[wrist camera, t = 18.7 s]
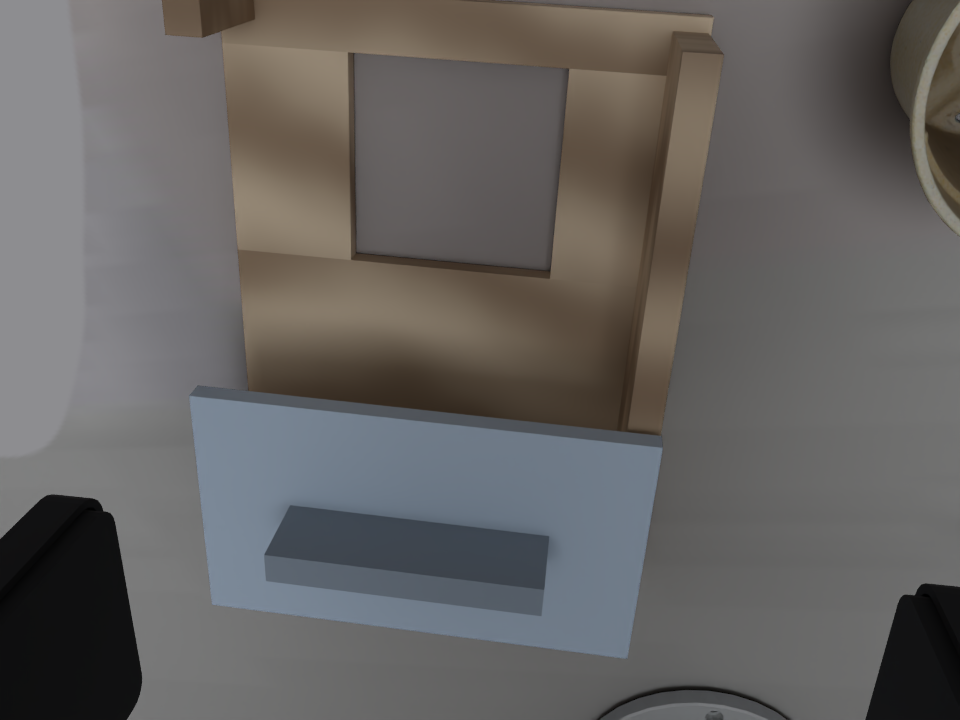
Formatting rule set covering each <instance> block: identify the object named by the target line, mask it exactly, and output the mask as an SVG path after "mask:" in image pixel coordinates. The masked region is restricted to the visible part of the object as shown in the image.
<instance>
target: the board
mask: <svg viewBox="0 0 960 720" xmlns="http://www.w3.org/2000/svg"><path fill="white" fill-rule="evenodd" d="M162 5H163V15H164V25H165V35H173V36H187V37H201V38H203V37H206V36H208V35H211V34H214V33H217V32H220V31H221V34H222V47H223V61H224V74H225V87H226V100H227V114H228V127H229V140H230V153H231V166H232V180H233V193H234V206H235V219H236V232H237V246H238V259H239V272H240V285H241V299H242V312H243V325H244V338H245V351H246V365H247V378H248V391H253V392H262V393H271V394H281V395H290V396H299V397H308V398H317V399H326V400H336V401H345V402H354V403H363V404H372V405H382V406H391V407H400V408H409V409H418V410H428V411H437V412H446V413H455V414H464V415H473V416H483V417H492V418H501V419H510V420H519V421H529V422H538V423H547V424H556V425H565V426H575V427H584V428H593V429H602V430H611V431H620V432H630V433H639V434H648V435H657V436H661V430H662V424H663V418H664V412H665V406H666V400H667V394H668V388H669V382H670V376H671V370H672V364H673V358H674V352H675V346H676V340H677V334H678V328H679V322H680V316H681V310H682V304H683V298H684V292H685V286H686V280H687V274H688V268H689V262H690V256H691V250H692V244H693V238H694V232H695V226H696V220H697V214H698V208H699V202H700V196H701V190H702V184H703V178H704V172H705V166H706V160H707V154H708V148H709V142H710V136H711V130H712V124H713V118H714V112H715V106H716V100H717V94H718V88H719V82H720V76H721V70H722V64H723V58H724V54H723V53H722V51H721V50H720V48H719V47H718V46H717V44H716V43H715V42H714V40H713V39H712V37H711V33H712V26H713V20H714V18H713V16H712V15H701V14H687V13H672V12H657V11H642V10H628V9H613V8H598V7H583V6H569V5H554V4H539V3H524V2H510V1H495V0H162ZM353 53H364V54H377V55H391V56H404V57H418V58H431V59H445V60H458V61H472V62H485V63H499V64H512V65H526V66H539V67H553V68H566V69H569V79H568V89H567V100H566V111H565V122H564V133H563V143H562V154H561V165H560V176H559V187H558V197H557V208H556V219H555V230H554V241H553V252H552V262H551V272H550V271H540V270H529V269H519V268H508V267H497V266H487V265H476V264H465V263H455V262H444V261H433V260H423V259H412V258H401V257H391V256H380V255H369V254H359V253H356V215H355V136H354V57H353Z"/></svg>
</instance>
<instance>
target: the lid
mask: <svg viewBox="0 0 960 720" xmlns="http://www.w3.org/2000/svg"><path fill="white" fill-rule="evenodd" d="M189 399H190V408H191V417H192V426H193V435H194V444H195V453H196V462H197V472H198V481H199V490H200V499H201V508H202V517H203V526H204V535H205V544H206V553H207V562H208V571H209V580H210V589H211V598H212V605H219V606H227V607H235V608H242V609H250V610H258V611H265V612H273V613H281V614H288V615H296V616H304V617H311V618H319V619H326V620H334V621H342V622H349V623H357V624H365V625H372V626H380V627H388V628H395V629H403V630H411V631H418V632H426V633H434V634H441V635H449V636H456V637H464V638H472V639H479V640H487V641H495V642H502V643H510V644H518V645H525V646H533V647H541V648H548V649H556V650H563V651H571V652H579V653H586V654H594V655H602V656H609V657H617V658H625V659H627V657H628V651H629V645H630V639H631V633H632V627H633V621H634V616H635V610H636V604H637V598H638V592H639V586H640V580H641V574H642V568H643V562H644V556H645V551H646V545H647V539H648V533H649V527H650V521H651V515H652V509H653V503H654V497H655V491H656V486H657V480H658V474H659V468H660V462H661V456H662V450H663V444H662V436H657V435H648V434H639V433H630V432H620V431H611V430H602V429H593V428H584V427H575V426H565V425H556V424H547V423H538V422H529V421H519V420H510V419H501V418H492V417H483V416H473V415H464V414H455V413H446V412H437V411H428V410H418V409H409V408H400V407H391V406H382V405H372V404H363V403H354V402H345V401H336V400H326V399H317V398H308V397H299V396H290V395H281V394H271V393H262V392H253V391H244V390H235V389H225V388H216V387H207V386H197V387H196V388H195V390H194V391H193V392H192V393H191V394H190V395H189Z"/></svg>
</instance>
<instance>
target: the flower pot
mask: <svg viewBox="0 0 960 720" xmlns="http://www.w3.org/2000/svg"><path fill="white" fill-rule="evenodd" d="M890 70H891V79H892V85H893V89H894V92H895V95H896V97H897V99H898V101H899V103H900V105H901V107H902V109H903V110H904V112H905V113H906V115H907V116H908V117H909V119H910V141H911V149H912V156H913V161H914V165H915V169H916V173H917V176H918V179H919V182H920V184H921V187H922V189H923V192H924V194H925V196H926V198H927V200H928V202H929V203H930V204H931V206H932V207H933V209H934V210H935V211H936V213H937V214H938V216H939V217H940V218H941V220H942V221H943V222H944V223H945V224H946V225H947V226H948V227H949V228H950V229H951V230H952V231H953V232H955V233H956V234H957V235H958V236H959V237H960V121H958V120H957V119H956V115H958V114H960V0H913V1H912V2H911V3H910V5H909V7H908V8H907V10H906V11H905V13H904V15H903V17H902V19H901V21H900V23H899V26H898V28H897V31H896V34H895V37H894V40H893V44H892V50H891V59H890Z"/></svg>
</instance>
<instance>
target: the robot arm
mask: <svg viewBox="0 0 960 720" xmlns="http://www.w3.org/2000/svg"><path fill="white" fill-rule="evenodd" d="M141 686H142V672H141V667H140V661H139V655H138V650H137V644H136V638H135V633H134V627H133V621H132V616H131V610H130V605H129V599H128V593H127V588H126V582H125V576H124V571H123V565H122V559H121V554H120V548H119V542H118V537H117V531H116V525H115V521H114V518H113V516H112V515H111V513H108V512H103V508H102V506H101V504H100V503H99V502H98V500H95V499H93V498H83V497H73V496H63V495H53V494H52V495H47V496H45V497H44V498H42V499H41V500H40V501H39V502H38V503H37V504H36V505H35V506H34V507H32V508H31V509H30V510H29V511H28V512H27V513H26V514H25V515H24V516H23V517H22V518H21V519H20V520H19V521H18V522H17V523H16V524H15V525H14V526H13V527H12V528H11V529H10V530H9V531H8V532H7V533H6V534H5V535H4V536H3V537H2V538H1V539H0V720H127V718H128V717H129V715H130V714H131V712H132V710H133V709H134V707H135V705H136V703H137V701H138V698H139V695H140V691H141ZM600 720H786V719H785V718H784V717H782V716H781V715H780V714H778V713H777V712H775V711H773V710H771V709H769V708H767V707H765V706H763V705H761V704H759V703H757V702H754V701H751V700H748V699H745V698H741V697H738V696H735V695H731V694H725V693H719V692H713V691H700V690H680V691H671V692H662V693H657V694H653V695H650V696H646V697H642V698H638V699H636V700H633V701H631V702H629V703H626V704H624V705H622V706H619V707H617V708H616V709H614V710H613V711H611V712H610V713H608V714H607V715H605V716H604V717H602V718H601V719H600ZM866 720H960V587H955V586H945V585H936V584H922V585H921V586H920V587H919V588H918V589H917V592H916V594H915V595H903V596H902V597H901V598H900V600H899V603H898V606H897V609H896V613H895V616H894V620H893V623H892V627H891V630H890V634H889V638H888V641H887V645H886V648H885V652H884V655H883V659H882V663H881V666H880V670H879V673H878V677H877V680H876V684H875V688H874V691H873V695H872V698H871V702H870V705H869V709H868V712H867V716H866Z"/></svg>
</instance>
